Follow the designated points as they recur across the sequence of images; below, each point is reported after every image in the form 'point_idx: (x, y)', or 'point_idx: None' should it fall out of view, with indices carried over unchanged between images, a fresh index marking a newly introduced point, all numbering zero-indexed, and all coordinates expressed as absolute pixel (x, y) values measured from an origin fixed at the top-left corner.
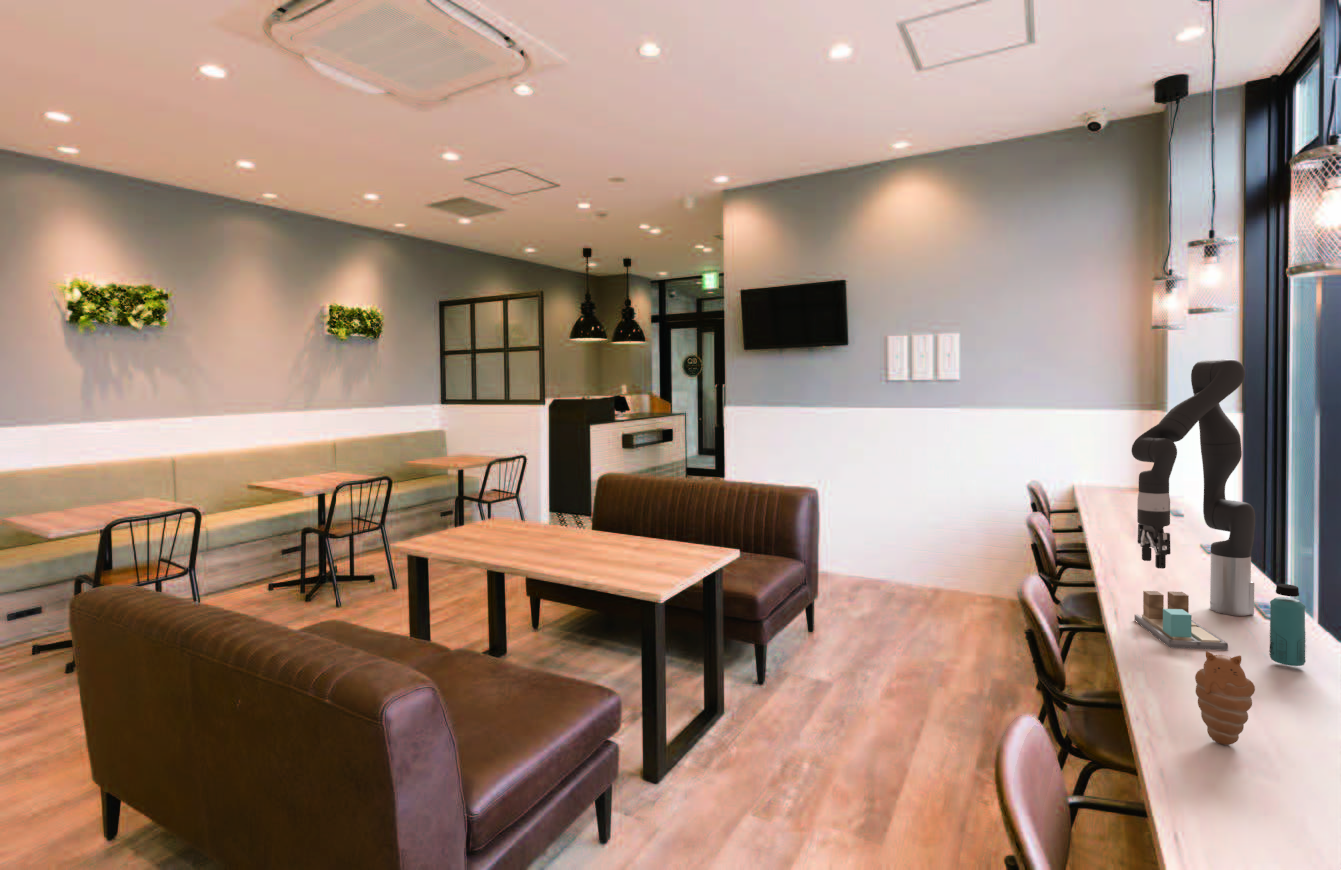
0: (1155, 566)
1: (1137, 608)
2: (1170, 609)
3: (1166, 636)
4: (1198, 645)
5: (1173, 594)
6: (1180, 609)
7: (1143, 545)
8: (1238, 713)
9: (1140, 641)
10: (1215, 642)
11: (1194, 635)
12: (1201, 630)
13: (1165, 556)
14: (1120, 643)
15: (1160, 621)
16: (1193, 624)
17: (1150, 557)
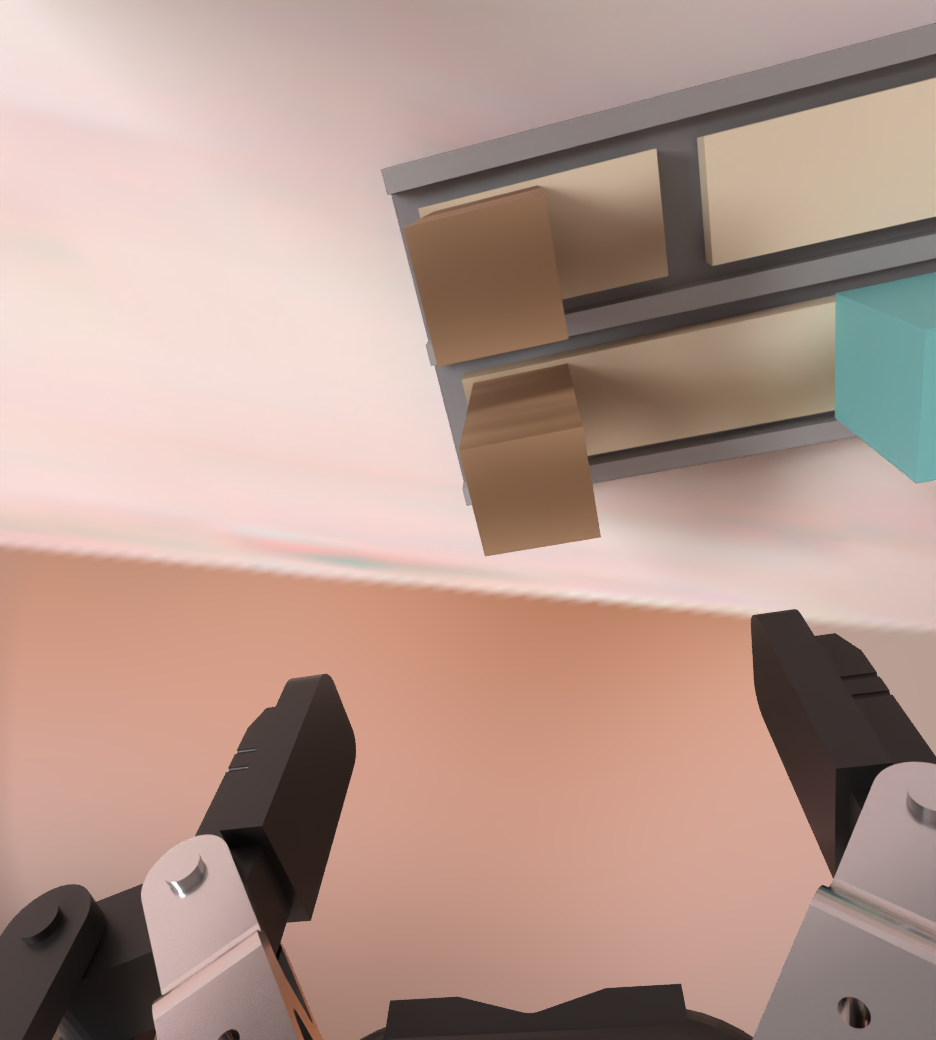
0: (762, 712)
1: (189, 427)
2: (934, 430)
3: None
4: None
5: (539, 336)
6: (933, 349)
7: (288, 965)
8: None
9: (876, 524)
10: None
11: (902, 222)
12: (797, 142)
13: (879, 746)
14: (921, 619)
15: (627, 393)
16: (646, 170)
17: (318, 709)
